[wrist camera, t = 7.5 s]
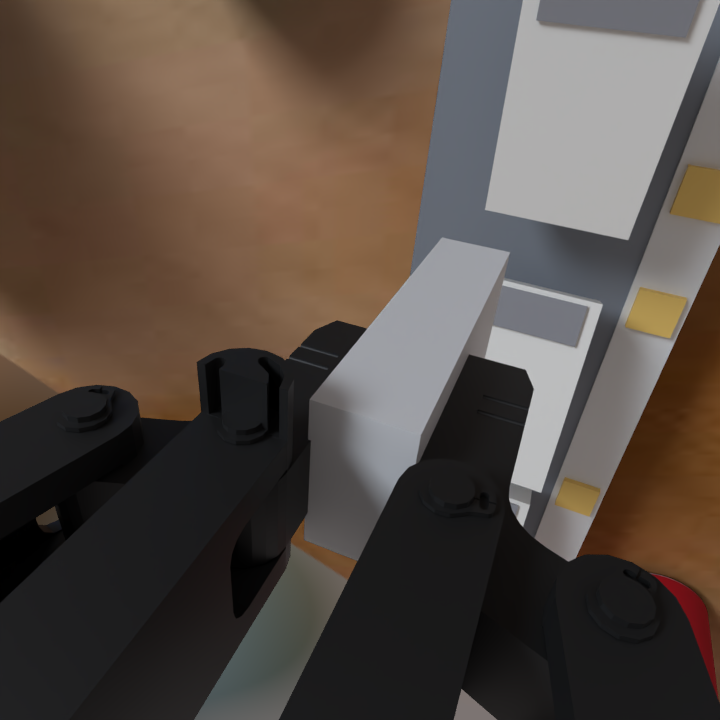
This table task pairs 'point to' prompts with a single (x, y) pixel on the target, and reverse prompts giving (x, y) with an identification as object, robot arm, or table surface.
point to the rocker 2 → (542, 363)
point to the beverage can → (694, 619)
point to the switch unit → (579, 252)
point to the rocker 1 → (592, 107)
